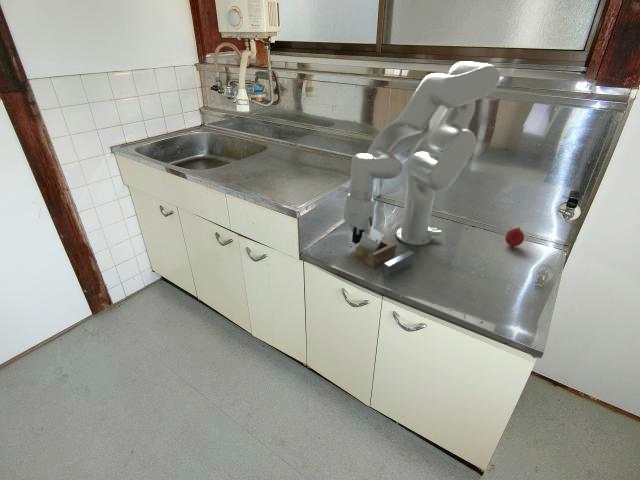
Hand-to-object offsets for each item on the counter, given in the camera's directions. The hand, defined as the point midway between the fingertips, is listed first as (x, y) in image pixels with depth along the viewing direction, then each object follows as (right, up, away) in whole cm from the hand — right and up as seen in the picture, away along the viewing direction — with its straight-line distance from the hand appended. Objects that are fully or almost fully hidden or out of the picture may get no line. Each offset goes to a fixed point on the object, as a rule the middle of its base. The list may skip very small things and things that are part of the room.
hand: (356, 241), depth 125 cm
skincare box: (+3, -3, -1) cm, 5 cm away
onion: (+55, -2, +3) cm, 55 cm away
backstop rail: (+12, -9, -10) cm, 18 cm away
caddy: (+5, -5, -3) cm, 8 cm away
